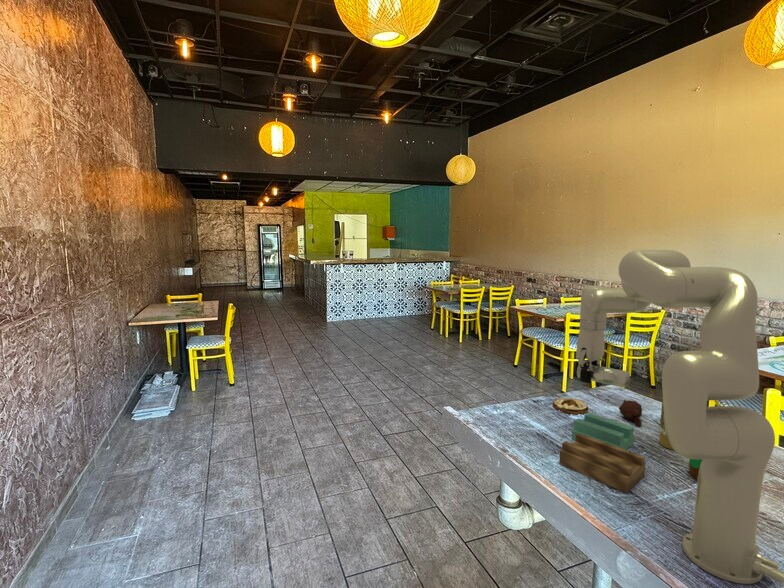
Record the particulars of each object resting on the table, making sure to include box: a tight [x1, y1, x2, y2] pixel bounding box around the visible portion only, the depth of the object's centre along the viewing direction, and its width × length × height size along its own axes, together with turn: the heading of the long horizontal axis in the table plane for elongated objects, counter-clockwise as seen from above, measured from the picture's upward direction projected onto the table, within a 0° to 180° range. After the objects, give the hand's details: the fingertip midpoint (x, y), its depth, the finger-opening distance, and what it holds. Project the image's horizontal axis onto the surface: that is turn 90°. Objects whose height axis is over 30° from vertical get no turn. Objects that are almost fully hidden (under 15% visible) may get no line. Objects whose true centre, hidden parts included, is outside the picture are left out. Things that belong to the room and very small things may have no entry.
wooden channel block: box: [558, 433, 647, 494], centre depth 114 cm, size 18×12×6 cm, turn 39°
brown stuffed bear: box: [618, 399, 643, 427], centre depth 148 cm, size 7×7×15 cm
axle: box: [576, 363, 631, 389], centre depth 129 cm, size 14×5×5 cm, turn 40°
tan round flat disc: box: [551, 397, 589, 416], centre depth 157 cm, size 15×15×4 cm
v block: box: [571, 412, 635, 450], centre depth 130 cm, size 14×12×6 cm
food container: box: [688, 458, 703, 482], centre depth 111 cm, size 12×6×10 cm, turn 141°
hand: (589, 379), depth 132 cm, fingers closed on axle, 5 cm apart
